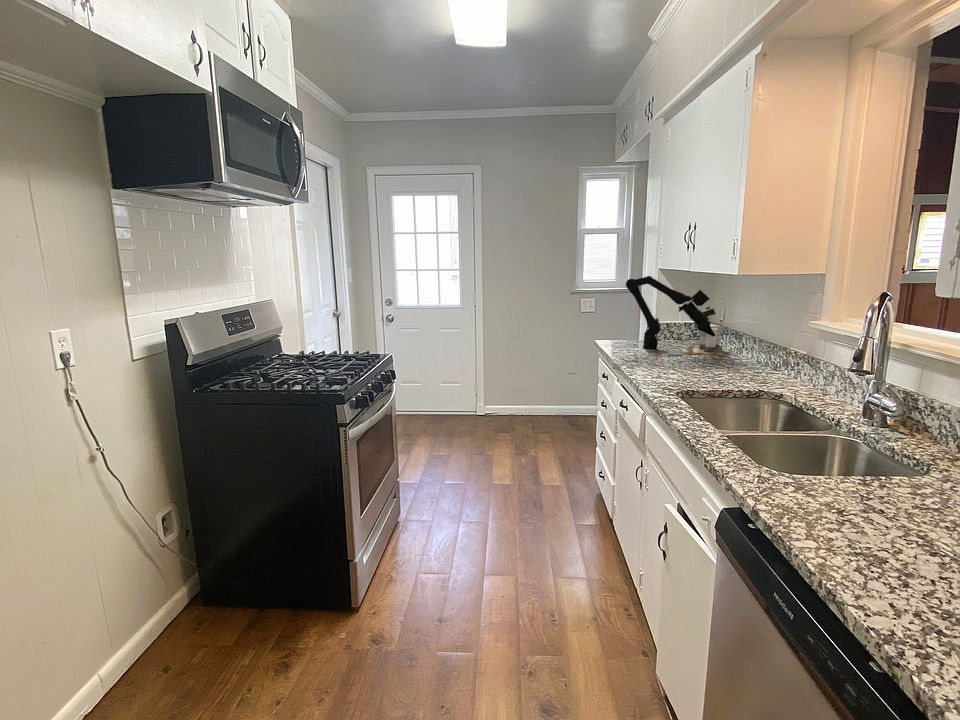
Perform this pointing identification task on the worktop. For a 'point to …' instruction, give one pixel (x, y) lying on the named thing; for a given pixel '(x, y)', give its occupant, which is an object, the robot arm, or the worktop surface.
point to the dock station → (702, 350)
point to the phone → (674, 353)
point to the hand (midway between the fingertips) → (714, 335)
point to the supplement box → (703, 335)
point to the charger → (711, 339)
